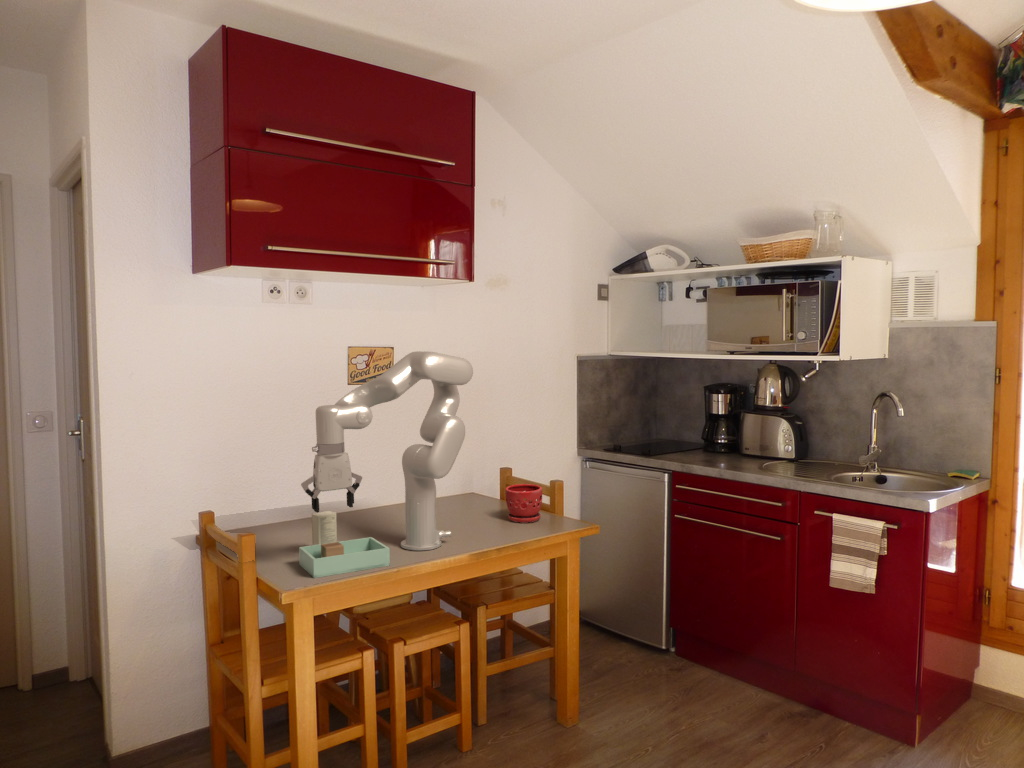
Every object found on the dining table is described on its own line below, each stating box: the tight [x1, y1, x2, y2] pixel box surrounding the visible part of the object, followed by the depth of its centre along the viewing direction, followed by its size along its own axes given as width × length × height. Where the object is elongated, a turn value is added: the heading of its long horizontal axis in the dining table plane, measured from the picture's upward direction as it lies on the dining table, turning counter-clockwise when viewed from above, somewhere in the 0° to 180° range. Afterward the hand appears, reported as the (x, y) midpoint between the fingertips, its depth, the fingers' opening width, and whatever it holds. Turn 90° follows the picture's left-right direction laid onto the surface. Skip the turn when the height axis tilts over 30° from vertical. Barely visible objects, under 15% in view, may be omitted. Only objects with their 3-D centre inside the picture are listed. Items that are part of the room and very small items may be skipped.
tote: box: [298, 536, 391, 579], centre depth 211 cm, size 22×15×5 cm
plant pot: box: [504, 483, 543, 524], centre depth 264 cm, size 13×13×12 cm
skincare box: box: [311, 510, 338, 545], centre depth 224 cm, size 6×4×12 cm
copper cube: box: [321, 541, 344, 558], centre depth 211 cm, size 5×5×5 cm
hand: (333, 509), depth 211 cm, fingers open, 9 cm apart
